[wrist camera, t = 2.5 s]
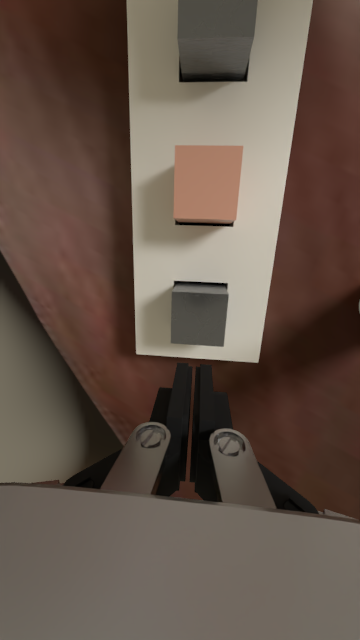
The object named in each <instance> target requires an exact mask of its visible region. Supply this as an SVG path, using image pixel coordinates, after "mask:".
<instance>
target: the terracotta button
mask: <svg viewBox="0 0 360 640" xmlns="http://www.w3.org/2000/svg"><path fill="white" fill-rule="evenodd" d="M242 156H243V146H207V145H175V168H174V213H173V218H174V219H175V220H177V221H178V222H184V223H217V224H230V223H232V222H234V221H235V220H236V217H237V207H238V196H239V186H240V176H241V166H242Z"/></svg>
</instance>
